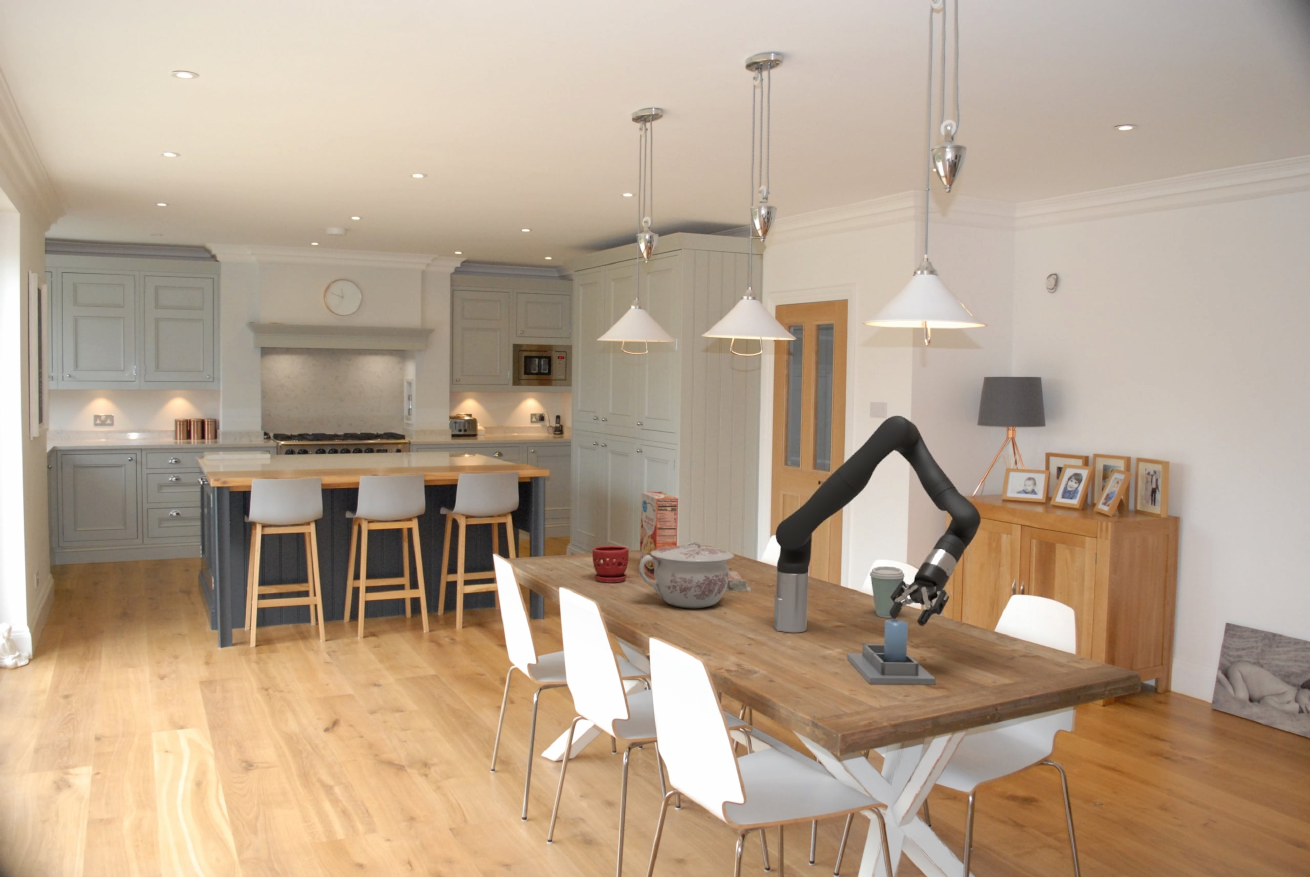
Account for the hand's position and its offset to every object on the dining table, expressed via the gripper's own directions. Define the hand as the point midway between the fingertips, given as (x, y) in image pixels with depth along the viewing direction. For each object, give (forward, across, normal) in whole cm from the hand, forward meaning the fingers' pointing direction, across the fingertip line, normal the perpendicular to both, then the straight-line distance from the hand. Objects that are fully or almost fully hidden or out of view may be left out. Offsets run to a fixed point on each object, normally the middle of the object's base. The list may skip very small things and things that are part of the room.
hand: (905, 620), depth 242 cm
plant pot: (+7, -134, +13) cm, 135 cm away
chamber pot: (+7, -89, +13) cm, 90 cm away
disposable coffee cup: (-24, -44, +43) cm, 66 cm away
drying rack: (+11, -3, +8) cm, 14 cm away
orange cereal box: (-9, -136, +29) cm, 139 cm away
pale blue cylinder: (+11, 0, +6) cm, 13 cm away
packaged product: (-15, -103, +36) cm, 110 cm away
